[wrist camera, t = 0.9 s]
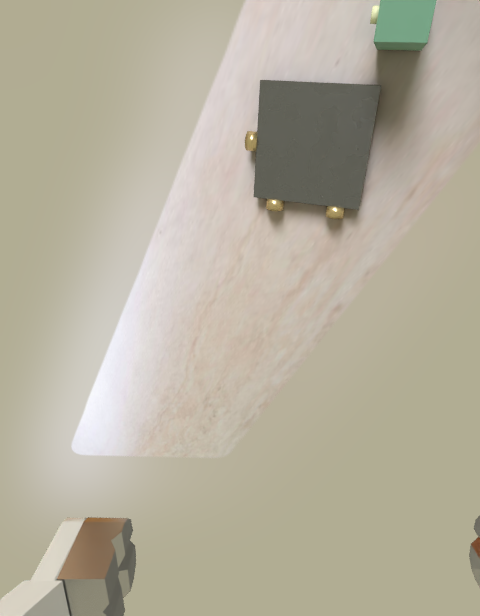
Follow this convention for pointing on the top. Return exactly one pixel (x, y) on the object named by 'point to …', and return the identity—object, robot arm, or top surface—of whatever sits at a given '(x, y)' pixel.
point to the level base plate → (313, 143)
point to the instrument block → (402, 24)
